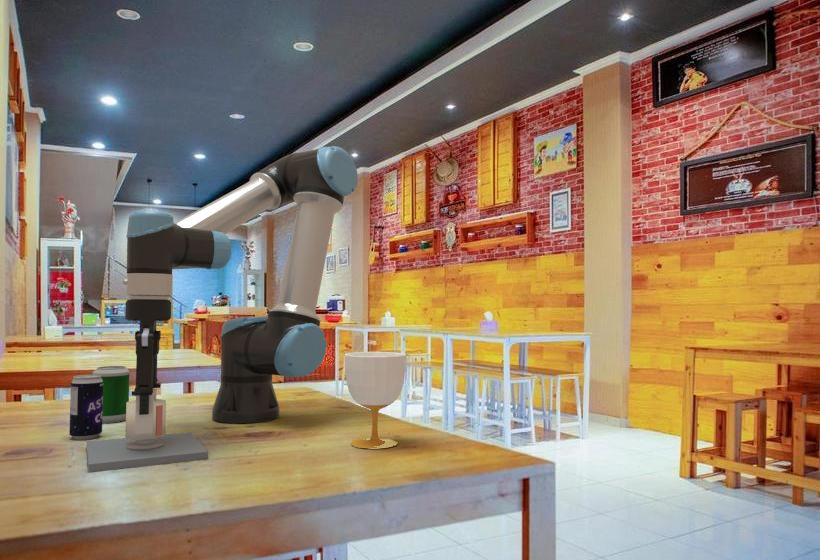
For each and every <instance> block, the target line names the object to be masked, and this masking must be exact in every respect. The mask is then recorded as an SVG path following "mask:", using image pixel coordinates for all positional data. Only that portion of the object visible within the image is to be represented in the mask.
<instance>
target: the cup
mask: <svg viewBox="0 0 820 560" xmlns="http://www.w3.org/2000/svg"><path fill="white" fill-rule="evenodd" d="M406 363H407V354H406V353H404V352H397V351H395V352H394V351H354V352H347V353H345V354H344V369H345V379H346V381H345V382H346V385H347V388H348V389H347V390H348V392H349V394H350V396H351V398H352V400H353V401H355V402H356V404H358V405H360V406H361V407H364V408H365V409H368V410H370V411H371V423H372V424H371V425H372V426H371V436H370V437H369V438H370V440H366V439H365V438H366V437H362V438H358V439H354V440H352V441H351V442H350V444H352V445H353V446H356V447H360V448H377V447H374V446H380V445H382V444H384V443H385V441H382V440H380V439H379V438H380V437H379V431H378V421H379V420H378V419H379V417H378V416H379V411H380V410H382V409H384V408H387V407H388V406H390V405H391V404H393V403H395V401H397V400H398V398H399V396H400V394H401V393H402V390H403V387H404V383H405V376H406V374H405V373H406V369H407V368H406V365H407V364H406ZM363 439H365V440H363ZM398 443H399V442H398ZM398 443H397V444H398ZM397 444H396V445H397ZM352 445H351V446H352ZM398 445H399V444H398ZM398 445H397V446H398ZM353 446H352V447H353ZM393 446H394V445H393ZM356 447H355V448H356ZM360 448H359V449H360Z"/></svg>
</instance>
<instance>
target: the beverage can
mask: <svg viewBox="0 0 820 560" xmlns="http://www.w3.org/2000/svg"><path fill="white" fill-rule="evenodd" d="M72 378H73V379H72V381H71V383H70V400H69V401H70V402H69V403H70V405H69V431H68V432H69V433H68V434H69V436H70V437H72V438H73V440H76V441H78V440H79V441H82V440H85V441H86V440H87V441H88V440H92V439H93V440H94V439H97V438H98V437H99V435H101V433H103V423H102V418H103V380H102V378H101V375H93V374H81V375H75V376H73V377H72Z"/></svg>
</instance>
